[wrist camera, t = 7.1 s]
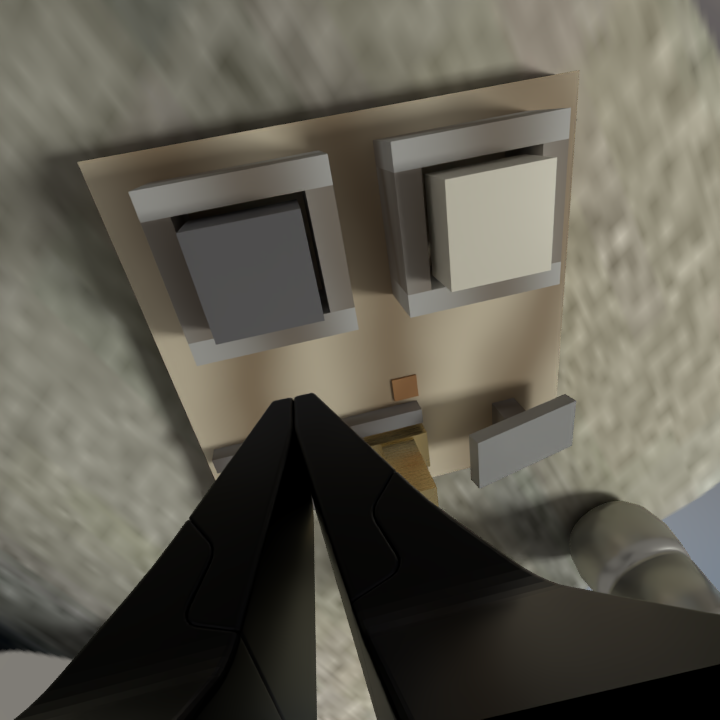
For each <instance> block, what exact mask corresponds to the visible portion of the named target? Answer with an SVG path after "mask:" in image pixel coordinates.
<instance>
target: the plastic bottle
mask: <svg viewBox="0 0 720 720" xmlns="http://www.w3.org/2000/svg"><path fill="white" fill-rule="evenodd" d="M570 554H571V557H572V560H573V562H574V564H575V566H576V568H577V570H578V572H579V574H580V576H581V577H582V579H583V580H584V581H585V582H586V583H587V584H588V586H589V587H590V588H591V589H592V590H593V591H596V592H601V593H607V594H612V595H617V596H623V597H628V598H633V599H639V600H644V601H650V602H655V603H660V604H666V605H671V606H677V607H682V608H687V609H693V610H698V611H703V612H709V613H716V614H720V592H719V591H718V590H717V589H716V587H715V586H714V585H713V584H712V583H711V582H710V580H709V579H708V578H707V577H706V576H705V575H704V573H703V572H702V571H701V570H700V569H699V568H698V567H697V565H696V564H695V563H694V562H693V561H692V560H691V558H690V556H689V554H688V553H687V551H686V550H685V548H684V547H683V545H682V544H681V542H680V541H679V540H678V539H677V537H676V536H675V535H674V534H673V532H672V531H671V530H670V529H669V527H668V526H667V525H666V524H665V523H664V522H663V521H662V520H660V519H659V518H658V517H656V516H655V515H654V514H652V513H651V512H650V511H648V510H647V509H646V508H644V507H642V506H640V505H637V504H633V503H629V502H625V501H613V502H608V503H605V504H602V505H599V506H597V507H595V508H593V509H592V510H590V511H589V512H587V513H586V514H585V515H584V516H582V517H581V518H580V520H579V521H578V522H577V523H576V524H575V526H574V527H573V529H572V532H571V535H570Z"/></svg>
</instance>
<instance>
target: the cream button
mask: <svg viewBox="0 0 720 720" xmlns="http://www.w3.org/2000/svg"><path fill="white" fill-rule="evenodd" d="M556 169H557V157H549V156H539V155H528V154H522V155H517V156H512V157H507V158H502V159H497V160H492V161H487V162H482V163H477V164H472V165H467V166H461V167H456V168H451V169H446V170H441V171H436V172H431V173H426V174H424V177H425V189H426V202H427V214H428V226H429V238H430V250H431V263H432V275H433V276H434V277H435V278H436V279H437V280H438V281H440V282H441V283H442V284H443V285H444V286H445V287H446V288H447V289H449V290H450V291H451V292H455V291H460V290H464V289H469V288H473V287H478V286H482V285H487V284H491V283H496V282H500V281H505V280H509V279H514V278H518V277H523V276H527V275H532V274H536V273H540V272H545V271H549V270H551V261H552V243H553V225H554V206H555V188H556Z"/></svg>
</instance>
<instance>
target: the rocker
mask: <svg viewBox="0 0 720 720" xmlns="http://www.w3.org/2000/svg"><path fill="white" fill-rule="evenodd" d="M575 408H576V400H574V399H572V398H571V397H569V396H567V395H566V394H564V395H562V396H559V397H557V398H554V399H552V400H550V401H547V402H545V403H543V404H540V405H538V406H536V407H533V408H531V409H529V410H526V411H524V412H522V413H519V414H517V415H515V416H512V417H510V418H508V419H505V420H503V421H500V422H498V423H496V424H493V425H491V426H489V427H486V428H484V429H482V430H479V431H477V432H475V433H472V434H470V435H469V448H470V469H471V480H472V481H473V482H474V483H475V484H476V485H477V486H478V487H479V488H482V487H484V486H486V485H489V484H491V483H493V482H495V481H497V480H499V479H501V478H504V477H506V476H508V475H510V474H512V473H514V472H516V471H519V470H521V469H523V468H525V467H527V466H529V465H531V464H533V463H536V462H538V461H540V460H542V459H544V458H546V457H548V456H551V455H553V454H555V453H557V452H559V451H561V450H563V449H566V448H568V447H570V446H572V439H573V429H574V418H575Z"/></svg>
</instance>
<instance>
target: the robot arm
mask: <svg viewBox="0 0 720 720" xmlns="http://www.w3.org/2000/svg"><path fill="white" fill-rule="evenodd" d="M312 499H313V500H312ZM313 502H314V506H315V510H316V514H317V517H318V521H319V524H320V527H321V531H322V534H323V538H324V541H325V544H326V548H327V551H328V555H329V558H330V561H331V565H332V568H333V572H334V575H335V578H336V582H337V585H338V589H339V592H340V595H341V599H342V602H343V606H344V609H345V612H346V616H347V619H348V623H349V626H350V629H351V633H352V636H353V640H354V643H355V646H356V650H357V653H358V657H359V660H360V663H361V667H362V670H363V674H364V677H365V680H366V684H367V687H368V691H369V694H370V697H371V701H372V704H373V708H374V711H375V714H376V718H377V720H720V614H716V613H709V612H703V611H698V610H693V609H687V608H682V607H677V606H671V605H666V604H660V603H655V602H650V601H644V600H639V599H633V598H628V597H623V596H617V595H612V594H607V593H601V592H596V591H590V590H585V589H580V588H574V587H569V586H564V585H560V584H557V583H554V582H551V581H549V580H546V579H544V578H542V577H540V576H538V575H536V574H534V573H532V572H530V571H529V570H527V569H525V568H523V567H522V566H520V565H519V564H517V563H516V562H514V561H513V560H512V559H510V558H509V557H507V556H506V555H505V554H503V553H502V552H500V551H499V550H497V549H496V548H495V547H493V546H492V545H490V544H489V543H488V542H486V541H485V540H483V539H482V538H481V537H479V536H478V535H476V534H475V533H474V532H472V531H471V530H469V529H468V528H466V527H465V526H464V525H462V524H461V523H459V522H458V521H457V520H455V519H454V518H452V517H451V516H450V515H448V514H447V513H446V512H444V511H443V510H442V509H440V508H439V507H438V506H436V505H435V504H434V503H432V502H431V501H430V500H428V499H427V498H426V497H425V496H424V495H423V494H422V493H420V492H419V491H418V490H417V489H416V488H415V487H414V486H412V485H411V484H410V483H409V482H408V481H407V480H406V479H405V478H404V477H403V476H402V475H401V474H400V473H398V472H396V470H395V469H394V468H393V467H392V466H391V465H390V464H389V463H388V462H387V461H386V460H384V459H383V458H382V457H381V456H380V455H379V454H378V453H377V452H376V451H375V450H374V449H373V448H372V447H371V446H370V445H369V444H368V443H366V442H365V441H364V440H363V439H362V438H361V437H360V436H359V435H358V434H357V433H356V432H355V431H354V430H353V429H352V428H351V427H350V426H348V425H347V424H346V423H345V422H344V421H343V420H342V419H341V418H340V417H339V416H338V415H337V414H336V413H335V412H334V411H333V410H331V409H330V408H329V407H328V406H327V405H326V404H325V403H324V402H323V401H322V400H321V399H320V398H319V397H318V396H317V395H316V394H314V393H308V394H303V395H299V396H296V397H295V398H294V400H293V398H285V399H280V400H275V401H273V402H272V403H271V404H270V405H269V407H268V408H267V410H266V411H265V412H264V414H263V415H262V417H261V418H260V419H259V421H258V422H257V424H256V425H255V426H254V428H253V429H252V430H251V432H250V433H249V435H248V436H247V437H246V439H245V440H244V442H243V443H242V444H241V446H240V447H239V449H238V450H237V451H236V453H235V454H234V456H233V457H232V458H231V460H230V461H229V463H228V464H227V465H226V467H225V468H224V470H223V471H222V472H221V474H220V475H219V477H218V478H217V479H216V481H215V482H214V483H213V485H212V486H211V488H210V489H209V490H208V492H207V493H206V495H205V496H204V497H203V499H202V500H201V502H200V503H199V504H198V506H197V507H196V509H195V510H194V511H193V513H192V514H191V516H190V517H189V520H187V521H186V522H185V524H184V525H183V526H182V528H181V529H180V531H179V532H178V533H177V535H176V536H175V538H174V539H173V540H172V542H171V543H170V544H169V545H168V547H167V548H166V549H165V551H164V552H163V553H162V555H161V556H160V557H159V559H158V560H157V561H156V563H155V564H154V565H153V566H152V568H151V569H150V570H149V571H148V572H147V574H146V575H145V576H144V577H143V579H142V580H141V581H140V582H139V583H138V585H137V586H136V587H135V588H134V589H133V591H132V592H131V593H130V594H129V595H128V597H127V598H126V599H125V600H124V601H123V602H122V604H121V605H120V606H119V607H118V608H117V609H116V611H115V612H114V613H113V614H112V615H111V616H110V617H109V619H108V620H107V621H106V622H105V623H104V624H103V626H102V627H101V628H100V629H99V630H98V631H97V633H96V634H95V635H94V636H93V637H92V638H91V639H90V641H89V642H88V643H87V644H86V645H85V646H84V648H83V649H82V650H81V651H80V652H79V653H78V655H77V656H76V657H75V658H74V659H73V660H72V662H71V663H70V664H69V665H68V666H67V667H66V668H65V670H64V671H63V672H62V673H61V674H60V676H59V677H58V678H57V679H56V680H55V681H54V682H53V683H52V684H51V685H50V687H49V688H48V689H47V690H46V691H45V692H44V693H43V694H42V695H41V696H40V697H39V698H38V699H37V700H36V701H35V702H34V703H33V704H31V705H30V706H29V707H28V708H27V709H26V710H25V711H24V712H22V713H21V714H20V715H19V716H18V717H16V718H15V719H14V720H317V696H316V635H315V574H314V515H313Z"/></svg>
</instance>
